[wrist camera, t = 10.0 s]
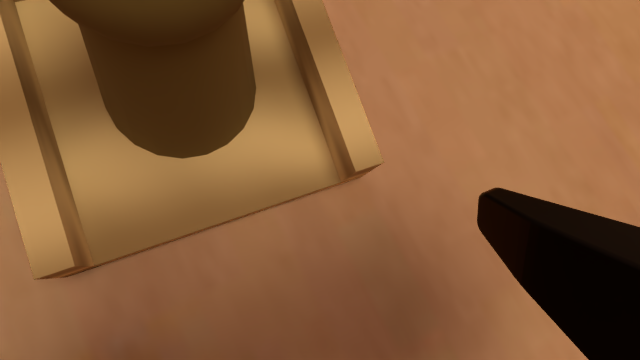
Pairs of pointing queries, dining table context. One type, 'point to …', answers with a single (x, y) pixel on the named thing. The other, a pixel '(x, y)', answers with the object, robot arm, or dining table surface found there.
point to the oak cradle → (160, 171)
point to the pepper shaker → (170, 69)
